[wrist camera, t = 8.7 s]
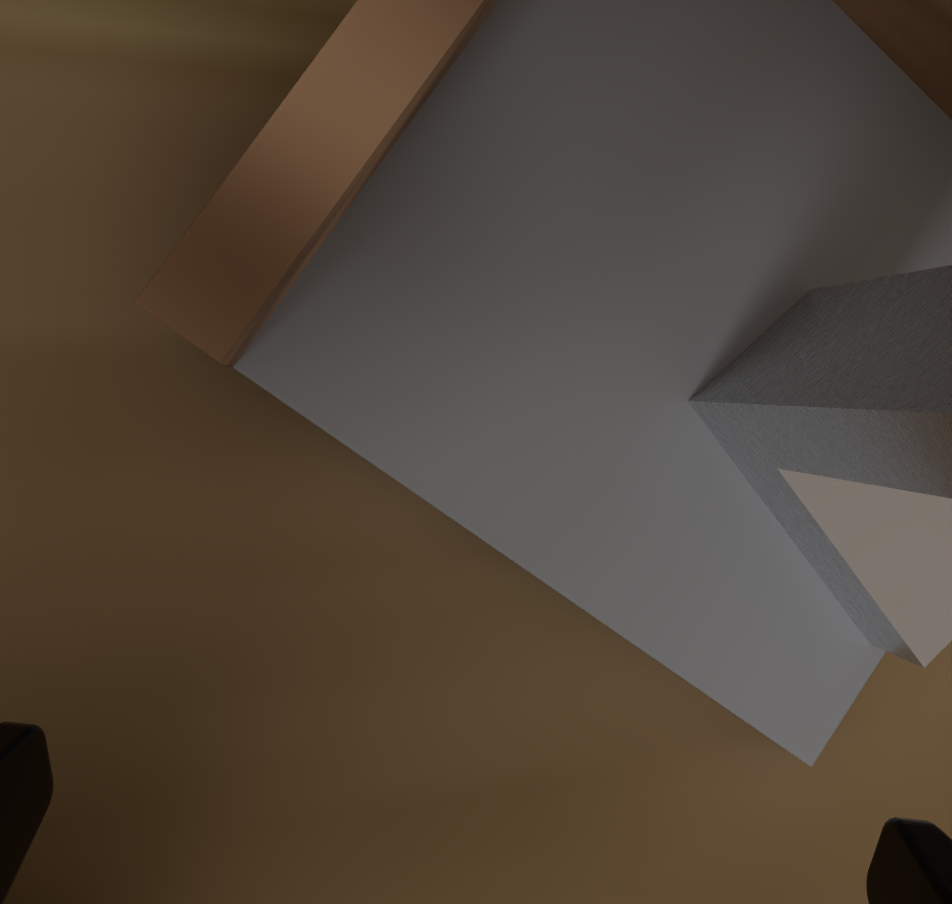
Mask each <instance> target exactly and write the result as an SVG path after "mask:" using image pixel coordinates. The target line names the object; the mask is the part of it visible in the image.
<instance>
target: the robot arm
mask: <svg viewBox="0 0 952 904" xmlns="http://www.w3.org/2000/svg"><path fill="white" fill-rule="evenodd" d="M52 793H53V777H52V771H51V765H50V760H49V754H48V748H47V743H46V737H45V734H44V731H43V730H42V729H41V728H40V727H39V726H37V725H33V724H24V723H15V722H2V723H0V904H3V902H4V900H5V898H6V896H7V894H8V892H9V890H10V888H11V885H12V883H13V881H14V879H15V877H16V875H17V873H18V870H19V868H20V866H21V864H22V862H23V860H24V858H25V856H26V853H27V851H28V849H29V847H30V845H31V843H32V841H33V839H34V836H35V834H36V832H37V830H38V828H39V826H40V824H41V822H42V819H43V817H44V815H45V813H46V811H47V809H48V806H49V804H50V801H51V798H52ZM867 896H868V902H869V904H952V839H951V838H950V837H948V836H947V835H946V834H945V833H944V832H943V831H942V830H941V829H940V828H938V827H937V826H936V825H934V824H933V823H931V822H928V821H925V820H916V819H907V818H898V817H895V818H890V819H889V820H888V821H887V822H886V823H885V824H884V827H883V829H882V832H881V835H880V838H879V840H878V843H877V846H876V849H875V852H874V855H873V858H872V861H871V864H870V867H869V870H868V874H867Z"/></svg>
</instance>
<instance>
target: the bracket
mask: <svg viewBox="0 0 952 904" xmlns="http://www.w3.org/2000/svg"><path fill="white" fill-rule="evenodd" d="M688 402H689V404H690V405H691V406H692V408H693V409H694V410H695V412H696V413H697V414H698V416H699V417H700V418H701V420H702V421H703V422H704V424H705V425H706V426H707V428H708V429H709V430H710V432H711V433H712V434H713V436H714V437H715V438H716V440H717V441H718V442H719V444H720V445H721V446H722V448H723V449H724V450H725V452H726V453H727V454H728V456H729V457H730V458H731V460H732V461H733V462H734V464H735V465H736V466H737V468H738V469H739V470H740V472H741V473H742V474H743V476H744V477H745V478H746V480H747V481H748V482H749V484H750V485H751V486H752V488H753V489H754V490H755V492H756V493H757V494H758V496H759V497H760V498H761V500H762V501H763V502H764V504H765V505H766V506H767V508H768V509H769V510H770V512H771V513H772V514H773V516H774V517H775V518H776V520H777V521H778V522H779V524H780V525H781V526H782V528H783V529H784V530H785V532H786V533H787V534H788V536H789V537H790V538H791V540H792V541H793V542H794V544H795V545H796V546H797V548H798V549H799V550H800V552H801V553H802V554H803V556H804V557H805V558H806V560H807V561H808V562H809V564H810V565H811V566H812V568H813V569H814V570H815V572H816V573H817V574H818V576H819V577H820V578H821V580H822V581H823V582H824V584H825V585H826V586H827V587H828V589H829V590H830V591H831V593H832V594H833V595H834V597H835V598H836V599H837V601H838V602H839V603H840V605H841V606H842V607H843V609H844V610H845V611H846V613H847V614H848V615H849V617H850V618H851V619H852V621H853V622H854V623H855V625H856V626H857V627H858V629H859V630H860V631H861V633H862V634H863V635H864V637H865V638H866V639H867V641H868V642H869V643H870V644H871V645H873V646H876V647H878V648H880V649H882V650H885V651H887V652H889V653H892V654H894V655H896V656H898V657H901V658H903V659H905V660H907V661H910V662H912V663H914V664H916V665H919V666H921V667H923V668H925V667H926V666H927V665H928V664H929V663H930V662H931V661H932V660H933V659H934V658H935V657H936V656H937V655H938V654H939V653H940V652H941V651H942V650H943V649H944V648H945V647H946V646H947V645H948V644H949V643H950V642H951V640H952V265H949V266H943V267H937V268H932V269H926V270H920V271H914V272H908V273H903V274H897V275H891V276H885V277H879V278H874V279H868V280H862V281H856V282H850V283H845V284H839V285H833V286H827V287H821V288H816V289H811V290H810V291H809V292H807V293H806V294H805V295H804V296H803V297H802V298H801V299H800V300H799V301H798V302H796V303H795V304H794V305H793V306H792V307H791V308H790V309H789V310H788V311H787V312H785V313H784V314H783V315H782V316H781V317H780V318H779V319H778V320H777V321H775V322H774V323H773V324H772V325H771V326H770V327H769V328H768V329H767V330H766V331H764V332H763V333H762V334H761V335H760V336H759V337H758V338H757V339H756V340H754V341H753V342H752V343H751V344H750V345H749V346H748V347H747V348H746V349H745V350H743V351H742V352H741V353H740V354H739V355H738V356H737V357H736V358H735V359H734V360H732V361H731V362H730V363H729V364H728V365H727V366H726V367H725V368H724V369H722V370H721V371H720V372H719V373H718V374H717V375H716V376H715V377H714V378H713V379H711V380H710V381H709V382H708V383H707V384H706V385H705V386H704V387H703V388H701V389H700V390H699V391H698V392H697V393H696V394H695V395H694V396H693V397H692V398H690V399H689V400H688Z"/></svg>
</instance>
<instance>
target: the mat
mask: <svg viewBox="0 0 952 904" xmlns="http://www.w3.org/2000/svg"><path fill="white" fill-rule="evenodd" d="M949 265H952V120H951V119H950V118H949V117H948V116H947V115H946V114H945V113H944V112H943V111H942V110H941V109H940V108H939V107H938V106H937V105H936V104H935V103H934V102H933V101H932V100H931V99H930V98H929V97H928V96H927V95H926V94H925V93H924V92H923V91H922V90H921V89H920V88H919V87H918V86H917V85H916V84H915V83H914V82H913V81H912V80H911V79H910V78H909V77H908V76H907V75H906V74H905V73H904V72H903V71H902V70H901V69H900V68H899V67H898V66H897V65H896V64H895V63H894V62H893V61H892V60H891V59H890V58H889V57H888V56H887V55H886V54H885V53H884V52H883V51H882V50H881V49H880V48H879V47H878V46H877V45H876V44H875V43H874V42H873V41H872V40H871V39H870V38H869V37H868V36H867V35H866V34H865V33H864V32H863V31H862V30H861V29H860V28H859V27H858V26H857V25H856V24H855V23H854V22H853V21H852V20H851V19H850V18H849V17H848V16H847V15H846V14H845V13H844V12H843V11H842V10H841V9H840V8H839V7H838V6H837V5H836V4H835V3H834V2H833V1H832V0H499V1H498V2H497V3H496V5H495V6H494V8H493V9H492V10H491V12H490V13H489V15H488V16H487V17H486V19H485V20H484V21H483V23H482V24H481V26H480V27H479V28H478V30H477V31H476V32H475V34H474V35H473V37H472V38H471V39H470V41H469V42H468V43H467V45H466V46H465V48H464V49H463V50H462V52H461V53H460V55H459V56H458V57H457V59H456V60H455V61H454V63H453V64H452V66H451V67H450V68H449V70H448V71H447V72H446V74H445V75H444V77H443V78H442V79H441V81H440V82H439V83H438V85H437V86H436V88H435V89H434V90H433V92H432V93H431V95H430V96H429V97H428V99H427V100H426V101H425V103H424V104H423V106H422V107H421V108H420V110H419V111H418V112H417V114H416V115H415V117H414V118H413V119H412V121H411V122H410V123H409V125H408V126H407V128H406V129H405V130H404V132H403V133H402V135H401V136H400V137H399V139H398V140H397V141H396V143H395V144H394V146H393V147H392V148H391V150H390V151H389V152H388V154H387V155H386V157H385V158H384V159H383V161H382V162H381V163H380V165H379V166H378V168H377V169H376V170H375V172H374V173H373V175H372V176H371V177H370V179H369V180H368V181H367V183H366V184H365V186H364V187H363V188H362V190H361V191H360V192H359V194H358V195H357V197H356V198H355V199H354V201H353V202H352V203H351V205H350V206H349V208H348V209H347V210H346V212H345V213H344V214H343V216H342V217H341V219H340V220H339V221H338V223H337V224H336V226H335V227H334V228H333V230H332V231H331V232H330V234H329V235H328V237H327V238H326V239H325V241H324V242H323V243H322V245H321V246H320V248H319V249H318V250H317V252H316V253H315V254H314V256H313V257H312V259H311V260H310V261H309V263H308V264H307V266H306V267H305V268H304V270H303V271H302V272H301V274H300V275H299V277H298V278H297V279H296V281H295V282H294V283H293V285H292V286H291V288H290V289H289V290H288V292H287V293H286V294H285V296H284V297H283V299H282V300H281V301H280V303H279V304H278V306H277V307H276V308H275V310H274V311H273V312H272V314H271V315H270V317H269V318H268V319H267V321H266V322H265V323H264V325H263V326H262V328H261V329H260V330H259V332H258V333H257V334H256V336H255V337H254V339H253V340H252V341H251V343H250V344H249V346H248V347H247V348H246V350H245V351H244V352H243V354H242V355H241V357H240V358H239V359H238V361H237V362H236V363H235V365H234V366H233V368H234V369H236V370H237V371H239V372H240V373H242V374H243V375H244V376H246V377H247V378H249V379H250V380H252V381H253V382H255V383H256V384H257V385H259V386H260V387H262V388H263V389H265V390H266V391H268V392H269V393H270V394H272V395H273V396H275V397H276V398H278V399H279V400H281V401H282V402H284V403H285V404H286V405H288V406H289V407H291V408H292V409H294V410H295V411H297V412H298V413H299V414H301V415H302V416H304V417H305V418H307V419H308V420H310V421H311V422H312V423H314V424H315V425H317V426H318V427H320V428H321V429H323V430H324V431H325V432H327V433H328V434H330V435H331V436H333V437H334V438H336V439H337V440H339V441H340V442H341V443H343V444H344V445H346V446H347V447H349V448H350V449H352V450H353V451H354V452H356V453H357V454H359V455H360V456H362V457H363V458H365V459H366V460H367V461H369V462H370V463H372V464H373V465H375V466H376V467H378V468H379V469H381V470H382V471H383V472H385V473H386V474H388V475H389V476H391V477H392V478H394V479H395V480H396V481H398V482H399V483H401V484H402V485H404V486H405V487H407V488H408V489H409V490H411V491H412V492H414V493H415V494H417V495H418V496H420V497H421V498H422V499H424V500H425V501H427V502H428V503H430V504H431V505H433V506H434V507H436V508H437V509H438V510H440V511H441V512H443V513H444V514H446V515H447V516H449V517H450V518H451V519H453V520H454V521H456V522H457V523H459V524H460V525H462V526H463V527H464V528H466V529H467V530H469V531H470V532H472V533H473V534H475V535H476V536H477V537H479V538H480V539H482V540H483V541H485V542H486V543H488V544H489V545H491V546H492V547H493V548H495V549H496V550H498V551H499V552H501V553H502V554H504V555H505V556H506V557H508V558H509V559H511V560H512V561H514V562H515V563H517V564H518V565H519V566H521V567H522V568H524V569H525V570H527V571H528V572H530V573H531V574H533V575H534V576H535V577H537V578H538V579H540V580H541V581H543V582H544V583H546V584H547V585H548V586H550V587H551V588H553V589H554V590H556V591H557V592H559V593H560V594H561V595H563V596H564V597H566V598H567V599H569V600H570V601H572V602H573V603H574V604H576V605H577V606H579V607H580V608H582V609H583V610H585V611H586V612H588V613H589V614H590V615H592V616H593V617H595V618H596V619H598V620H599V621H601V622H602V623H603V624H605V625H606V626H608V627H609V628H611V629H612V630H614V631H615V632H616V633H618V634H619V635H621V636H622V637H624V638H625V639H627V640H628V641H629V642H631V643H632V644H634V645H635V646H637V647H638V648H640V649H641V650H643V651H644V652H645V653H647V654H648V655H650V656H651V657H653V658H654V659H656V660H657V661H658V662H660V663H661V664H663V665H664V666H666V667H667V668H669V669H670V670H671V671H673V672H674V673H676V674H677V675H679V676H680V677H682V678H683V679H685V680H686V681H687V682H689V683H690V684H692V685H693V686H695V687H696V688H698V689H699V690H700V691H702V692H703V693H705V694H706V695H708V696H709V697H711V698H712V699H713V700H715V701H716V702H718V703H719V704H721V705H722V706H724V707H725V708H726V709H728V710H729V711H731V712H732V713H734V714H735V715H737V716H738V717H740V718H741V719H742V720H744V721H745V722H747V723H748V724H750V725H751V726H753V727H754V728H755V729H757V730H758V731H760V732H761V733H763V734H764V735H766V736H767V737H768V738H770V739H771V740H773V741H774V742H776V743H777V744H779V745H780V746H781V747H783V748H784V749H786V750H787V751H789V752H790V753H792V754H793V755H795V756H796V757H797V758H799V759H800V760H802V761H803V762H805V763H806V764H808V765H809V766H810V767H812V765H813V764H814V762H815V761H816V759H817V757H818V756H819V754H820V753H821V751H822V750H823V748H824V747H825V745H826V743H827V742H828V740H829V739H830V737H831V736H832V734H833V733H834V731H835V729H836V728H837V726H838V725H839V723H840V722H841V720H842V719H843V717H844V715H845V714H846V712H847V711H848V709H849V708H850V706H851V705H852V703H853V701H854V700H855V698H856V697H857V695H858V694H859V692H860V691H861V689H862V688H863V686H864V684H865V683H866V681H867V680H868V678H869V677H870V675H871V674H872V672H873V670H874V669H875V667H876V666H877V664H878V663H879V661H880V660H881V658H882V656H883V655H884V653H885V652H886V651H885V650H882V649H880V648H878V647H876V646H873V645H871V644H870V643H869V642H868V641H867V639H866V638H865V637H864V635H863V634H862V633H861V631H860V630H859V629H858V627H857V626H856V625H855V623H854V622H853V621H852V619H851V618H850V617H849V615H848V614H847V613H846V611H845V610H844V609H843V607H842V606H841V605H840V603H839V602H838V601H837V599H836V598H835V597H834V595H833V594H832V593H831V591H830V590H829V589H828V587H827V586H826V585H825V584H824V582H823V581H822V580H821V578H820V577H819V576H818V574H817V573H816V572H815V570H814V569H813V568H812V566H811V565H810V564H809V562H808V561H807V560H806V558H805V557H804V556H803V554H802V553H801V552H800V550H799V549H798V548H797V546H796V545H795V544H794V542H793V541H792V540H791V538H790V537H789V536H788V534H787V533H786V532H785V530H784V529H783V528H782V526H781V525H780V524H779V522H778V521H777V520H776V518H775V517H774V516H773V514H772V513H771V512H770V510H769V509H768V508H767V506H766V505H765V504H764V502H763V501H762V500H761V498H760V497H759V496H758V494H757V493H756V492H755V490H754V489H753V488H752V486H751V485H750V484H749V482H748V481H747V480H746V478H745V477H744V476H743V474H742V473H741V472H740V470H739V469H738V468H737V466H736V465H735V464H734V462H733V461H732V460H731V458H730V457H729V456H728V454H727V453H726V452H725V450H724V449H723V448H722V446H721V445H720V444H719V442H718V441H717V440H716V438H715V437H714V436H713V434H712V433H711V432H710V430H709V429H708V428H707V426H706V425H705V424H704V422H703V421H702V420H701V418H700V417H699V416H698V414H697V413H696V412H695V410H694V409H693V408H692V406H691V405H690V404H689V402H688V400H689V399H690V398H692V397H693V396H694V395H695V394H696V393H697V392H698V391H699V390H700V389H701V388H703V387H704V386H705V385H706V384H707V383H708V382H709V381H710V380H711V379H713V378H714V377H715V376H716V375H717V374H718V373H719V372H720V371H721V370H722V369H724V368H725V367H726V366H727V365H728V364H729V363H730V362H731V361H732V360H734V359H735V358H736V357H737V356H738V355H739V354H740V353H741V352H742V351H743V350H745V349H746V348H747V347H748V346H749V345H750V344H751V343H752V342H753V341H754V340H756V339H757V338H758V337H759V336H760V335H761V334H762V333H763V332H764V331H766V330H767V329H768V328H769V327H770V326H771V325H772V324H773V323H774V322H775V321H777V320H778V319H779V318H780V317H781V316H782V315H783V314H784V313H785V312H787V311H788V310H789V309H790V308H791V307H792V306H793V305H794V304H795V303H796V302H798V301H799V300H800V299H801V298H802V297H803V296H804V295H805V294H806V293H807V292H809V291H810V290H811V289H816V288H821V287H827V286H833V285H839V284H845V283H850V282H856V281H862V280H868V279H874V278H879V277H885V276H891V275H897V274H903V273H908V272H914V271H920V270H926V269H932V268H937V267H943V266H949Z"/></svg>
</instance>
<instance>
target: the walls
mask: <svg viewBox="0 0 952 904" xmlns="http://www.w3.org/2000/svg"><path fill="white" fill-rule="evenodd" d="M498 1H499V0H357V2H356V3H355V4H354V6H353V7H352V8H351V10H350V11H349V12H348V14H347V15H346V16H345V18H344V19H343V21H342V22H341V23H340V25H339V26H338V27H337V29H336V30H335V31H334V33H333V34H332V35H331V37H330V38H329V39H328V41H327V42H326V44H325V45H324V46H323V48H322V49H321V50H320V52H319V53H318V54H317V56H316V57H315V58H314V60H313V61H312V62H311V64H310V65H309V67H308V68H307V69H306V71H305V72H304V73H303V75H302V76H301V77H300V79H299V80H298V81H297V83H296V84H295V85H294V87H293V88H292V90H291V91H290V92H289V94H288V95H287V96H286V98H285V99H284V100H283V102H282V103H281V104H280V106H279V107H278V108H277V110H276V111H275V113H274V114H273V115H272V117H271V118H270V119H269V121H268V122H267V123H266V125H265V126H264V127H263V129H262V130H261V131H260V133H259V134H258V136H257V137H256V138H255V140H254V141H253V142H252V144H251V145H250V146H249V148H248V149H247V150H246V152H245V153H244V154H243V156H242V157H241V159H240V160H239V161H238V163H237V164H236V165H235V167H234V168H233V169H232V171H231V172H230V173H229V175H228V176H227V177H226V179H225V180H224V182H223V183H222V184H221V186H220V187H219V188H218V190H217V191H216V192H215V194H214V195H213V196H212V198H211V199H210V200H209V202H208V203H207V204H206V206H205V207H204V209H203V210H202V211H201V213H200V214H199V215H198V217H197V218H196V219H195V221H194V222H193V223H192V225H191V226H190V227H189V229H188V230H187V232H186V233H185V234H184V236H183V237H182V238H181V240H180V241H179V242H178V244H177V245H176V246H175V248H174V249H173V250H172V252H171V253H170V255H169V256H168V257H167V259H166V260H165V261H164V263H163V264H162V265H161V267H160V268H159V269H158V271H157V272H156V273H155V275H154V276H153V278H152V279H151V280H150V282H149V283H148V284H147V286H146V287H145V288H144V290H143V291H142V292H141V294H140V295H139V296H138V298H137V299H136V301H135V302H134V304H135V305H136V306H138V307H139V308H141V309H142V310H144V311H145V312H147V313H148V314H150V315H151V316H152V317H154V318H155V319H157V320H158V321H160V322H161V323H163V324H164V325H165V326H167V327H168V328H170V329H171V330H173V331H174V332H176V333H177V334H179V335H180V336H181V337H183V338H184V339H186V340H187V341H189V342H190V343H192V344H193V345H195V346H196V347H197V348H199V349H200V350H202V351H203V352H205V353H206V354H208V355H209V356H210V357H212V358H213V359H215V360H216V361H218V362H219V363H221V364H224V365H227V366H230V367H233V366H234V365H235V363H236V362H237V361H238V359H239V358H240V357H241V355H242V354H243V352H244V351H245V350H246V348H247V347H248V346H249V344H250V343H251V341H252V340H253V339H254V337H255V336H256V334H257V333H258V332H259V330H260V329H261V328H262V326H263V325H264V323H265V322H266V321H267V319H268V318H269V317H270V315H271V314H272V312H273V311H274V310H275V308H276V307H277V306H278V304H279V303H280V301H281V300H282V299H283V297H284V296H285V294H286V293H287V292H288V290H289V289H290V288H291V286H292V285H293V283H294V282H295V281H296V279H297V278H298V277H299V275H300V274H301V272H302V271H303V270H304V268H305V267H306V266H307V264H308V263H309V261H310V260H311V259H312V257H313V256H314V254H315V253H316V252H317V250H318V249H319V248H320V246H321V245H322V243H323V242H324V241H325V239H326V238H327V237H328V235H329V234H330V232H331V231H332V230H333V228H334V227H335V226H336V224H337V223H338V221H339V220H340V219H341V217H342V216H343V214H344V213H345V212H346V210H347V209H348V208H349V206H350V205H351V203H352V202H353V201H354V199H355V198H356V197H357V195H358V194H359V192H360V191H361V190H362V188H363V187H364V186H365V184H366V183H367V181H368V180H369V179H370V177H371V176H372V175H373V173H374V172H375V170H376V169H377V168H378V166H379V165H380V163H381V162H382V161H383V159H384V158H385V157H386V155H387V154H388V152H389V151H390V150H391V148H392V147H393V146H394V144H395V143H396V141H397V140H398V139H399V137H400V136H401V135H402V133H403V132H404V130H405V129H406V128H407V126H408V125H409V123H410V122H411V121H412V119H413V118H414V117H415V115H416V114H417V112H418V111H419V110H420V108H421V107H422V106H423V104H424V103H425V101H426V100H427V99H428V97H429V96H430V95H431V93H432V92H433V90H434V89H435V88H436V86H437V85H438V83H439V82H440V81H441V79H442V78H443V77H444V75H445V74H446V72H447V71H448V70H449V68H450V67H451V66H452V64H453V63H454V61H455V60H456V59H457V57H458V56H459V55H460V53H461V52H462V50H463V49H464V48H465V46H466V45H467V43H468V42H469V41H470V39H471V38H472V37H473V35H474V34H475V32H476V31H477V30H478V28H479V27H480V26H481V24H482V23H483V21H484V20H485V19H486V17H487V16H488V15H489V13H490V12H491V10H492V9H493V8H494V6H495V5H496V3H497V2H498ZM832 1H833V2H834V3H835V4H836V5H837V6H838V7H839V8H840V9H841V10H842V11H843V12H844V13H845V14H846V15H847V16H848V17H849V18H850V19H851V20H852V21H853V22H854V23H855V24H856V25H857V26H858V27H859V28H860V29H861V30H862V31H863V32H864V33H865V34H866V35H867V36H868V37H869V38H870V39H871V40H872V41H873V42H874V43H875V44H876V45H877V46H878V47H879V48H880V49H881V50H882V51H883V52H884V53H885V54H886V55H887V56H888V57H889V58H890V59H891V60H892V61H893V62H894V63H895V64H896V65H897V66H898V67H899V68H900V69H901V70H902V71H903V72H904V73H905V74H906V75H907V76H908V77H909V78H910V79H911V80H912V81H913V82H914V83H915V84H916V85H917V86H918V87H919V88H920V89H921V90H922V91H923V92H924V93H925V94H926V95H927V96H928V97H929V98H930V99H931V100H932V101H933V102H934V103H935V104H936V105H937V106H938V107H939V108H940V109H941V110H942V111H943V112H944V113H945V114H946V115H947V116H948V117H949V118H950V119H951V120H952V0H832Z"/></svg>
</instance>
